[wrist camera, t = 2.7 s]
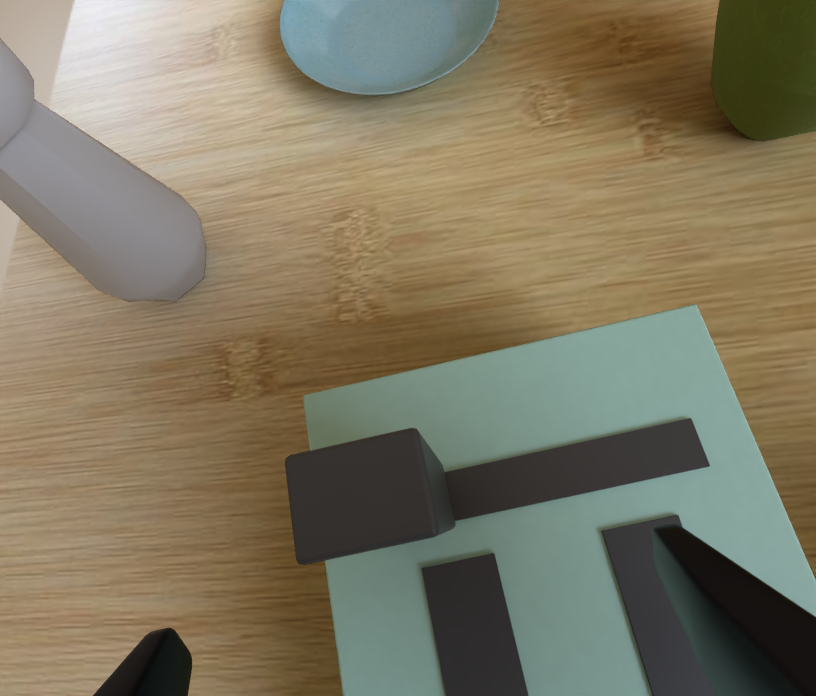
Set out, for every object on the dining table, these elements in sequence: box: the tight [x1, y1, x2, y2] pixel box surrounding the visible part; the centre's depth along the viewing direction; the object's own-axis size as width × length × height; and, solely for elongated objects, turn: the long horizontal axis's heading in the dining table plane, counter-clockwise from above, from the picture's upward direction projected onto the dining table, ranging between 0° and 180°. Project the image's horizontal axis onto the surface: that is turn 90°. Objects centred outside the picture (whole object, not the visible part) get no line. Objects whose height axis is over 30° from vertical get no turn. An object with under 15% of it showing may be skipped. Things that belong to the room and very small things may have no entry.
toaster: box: [303, 304, 816, 696], centre depth 15 cm, size 16×11×9 cm
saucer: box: [279, 0, 499, 96], centre depth 28 cm, size 12×12×2 cm
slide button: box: [285, 428, 456, 565], centre depth 10 cm, size 2×2×6 cm
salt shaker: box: [0, 38, 206, 302], centre depth 20 cm, size 6×6×13 cm
